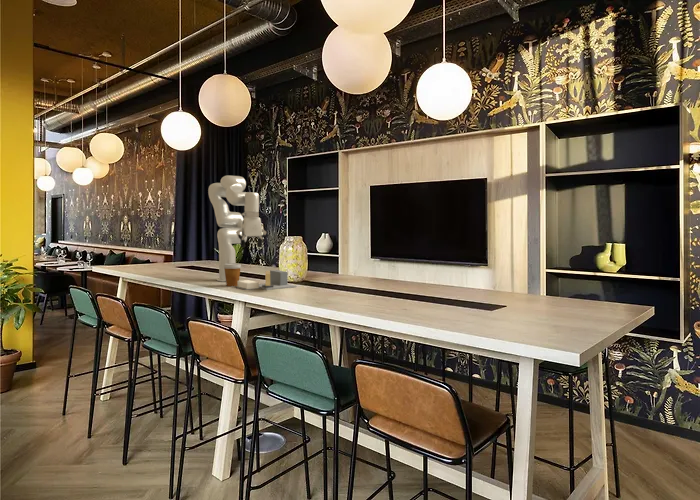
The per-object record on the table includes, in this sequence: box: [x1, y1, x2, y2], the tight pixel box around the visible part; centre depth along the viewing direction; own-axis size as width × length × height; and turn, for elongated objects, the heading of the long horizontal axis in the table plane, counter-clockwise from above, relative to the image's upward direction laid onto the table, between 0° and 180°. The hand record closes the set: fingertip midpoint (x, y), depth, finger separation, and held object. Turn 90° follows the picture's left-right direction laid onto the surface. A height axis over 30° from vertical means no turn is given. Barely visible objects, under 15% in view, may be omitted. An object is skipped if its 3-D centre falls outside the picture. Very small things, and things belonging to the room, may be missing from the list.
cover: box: [238, 279, 260, 290], centre depth 248 cm, size 12×6×3 cm, turn 38°
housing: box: [259, 269, 297, 291], centre depth 253 cm, size 18×18×8 cm
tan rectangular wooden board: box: [264, 270, 270, 286], centre depth 242 cm, size 2×14×7 cm, turn 11°
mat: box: [234, 286, 261, 291], centre depth 248 cm, size 13×8×1 cm, turn 38°
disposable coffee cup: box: [224, 263, 242, 287], centre depth 255 cm, size 10×10×12 cm
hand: (251, 246), depth 251 cm, fingers open, 9 cm apart
